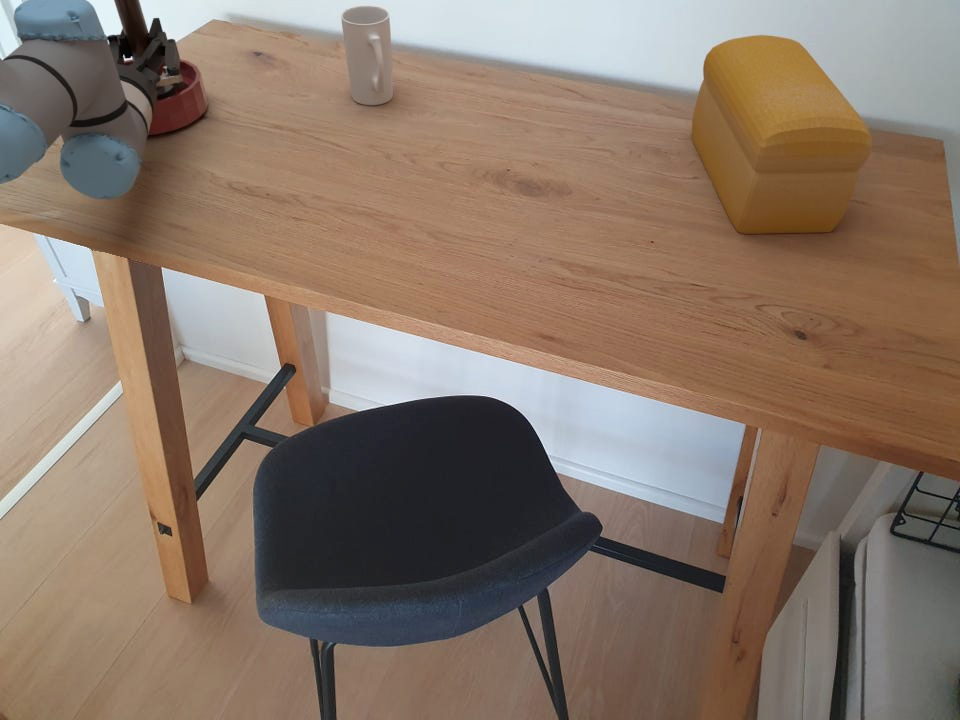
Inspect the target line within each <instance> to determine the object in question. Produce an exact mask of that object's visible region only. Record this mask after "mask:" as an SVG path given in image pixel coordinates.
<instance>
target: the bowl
mask: <svg viewBox="0 0 960 720" xmlns="http://www.w3.org/2000/svg"><path fill="white" fill-rule="evenodd" d="M130 64H133V59H131V58H130V59H127V60H126V59H125V60H124V65H126V66H129V65H130ZM164 66H165V63H163V64H162V66H161V67H160V69H159V70H160V73H161V75H162V72H164V70H163V67H164ZM180 73H181V76H182V80H183V84H184V87H183V88H180V89H178V88H175V91H176V95H173V96H171V97H168V98H165V99H162V100H157V102H156V107H155V111H154V114H153V118H152V121H151V125H150V129H149V133H148V136H153V135H154V136H155V135H158V134H159V135H160V134H164V133H168V132H172V131H175V130H178V129H181V128H184V127H187V126H189V125H190V124H191V123H194V121H196V120H198V119H199V118H201V117H202V116H203V114H204V113H205V112H206V111H207V109H208V105H209V104H208V103H209V99H208V97H207V92H206V88H205V85H204V80H203V77H202V72H201V71H200V69H199V68H198V66H197V65H196V64H194V63H193V62H190V61H189V60H187V59H183V58H180Z"/></svg>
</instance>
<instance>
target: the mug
mask: <svg viewBox="0 0 960 720" xmlns="http://www.w3.org/2000/svg"><path fill="white" fill-rule="evenodd" d="M340 14H341V15H340V19H341V28H342V35H343V42H344V49H345V56H346V63H347V65H346V66H347V72H348V79H349V87H350V94H351V97H352V99H353V101H354V102H355V103H357V104H359V105H364V106H379V105H384V104H387V103H388V102H390V101H391V100H392V99H393V97H394V76H393V75H394V74H393V57H392V56H393V53H392V35H391V33H392V32H391V20H390V12H389V11H388V10H387V9H385V8H383V7H381V6H377V5H375V6H374V5H357V6H353V7H349V8H346V9H345V10H344V11H342V13H340Z"/></svg>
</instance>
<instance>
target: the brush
mask: <svg viewBox="0 0 960 720" xmlns="http://www.w3.org/2000/svg"><path fill="white" fill-rule="evenodd" d="M113 2H114V5H115V8H116V12H117V14H118V17H119V20H120V24H121V27H122V29H123V30H124V33H125V37H126V40H127V43H128V46H129V49H130V52H131V58H132V59H133V62H134V61H135V59H136V58H137V57H140V58H141V56H142V55H143V53H144V52H145V50H146V49H147V47H148V46H149V41H148V34H149V30H148V26H147V22H146V19H145V15H144V13H143V9H142V6H141V2H140V0H113ZM157 74H158V75H159V76H161V73H160V70H159V71H158V72H157ZM173 95H176V91H175V87H174V86H173V85H172V86H169V85H166V86H163V90H162V91H161V92H160V93H159V94H158V95H157V100H162V99H165V98H168V97H171V96H173Z"/></svg>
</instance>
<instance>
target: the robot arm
mask: <svg viewBox="0 0 960 720" xmlns="http://www.w3.org/2000/svg"><path fill="white" fill-rule="evenodd" d="M13 13H14V14H13V21H14V24H15V28H16V33H17V34H16V36H17V38H19V39H20V41H21V44H20V45H19V46H18V47H16V48H15V49H13V50H12V51H11V53H9V54H8V55H7V56H6V57H4V58H3V59H2V58H1V57H0V184H5V183H10V182H13V181H14V180H16V179H18V178H20V177H21V176H22V175H23V174H25V172H26V171H28V169H30V168H31V167H32V166H33V165H34V164H35V163H38V162H40V161H41V160H42V159H43V158H44V157H45V155H46V153H47V151H48V149H49V148H50V147H51V146H52V145H53V144H54V143H55V142H56V141H57V139H59V137H61V139H62V142H63V144H62V146H61V149H60V152H59V153H60V157H59V168H60V172H61V175H62V178H64V180H65V181H66V182H67V183H68V185H69V186H70V187H71V188H72V189H74V190H75V191H76V192H78V193H80V194H81V195H84V196H86V197H89V198H90V199H91V198H92V199H96V200H112V199H118V198H120V197H122V196H124V195H126V194H127V193H128V192H129V191H130V190H131V189H132V187H133V186H134V184H135V181H136V180H137V177H138V176H139V174H140V172H141V170H142V164H143V163H142V161H143V158H144V157H143V156H144V152H145V148H146V144H147V138H148V136H149V135H148V133H149V129H150V125H151V121H152V118H153V114H154V111H155V107H156V102H157V95H158V94H159V93H160V92H161V91H162V90H163V86H166V85H169V86H172V85H173V86H174V87H175V88H178V89H180V88H183V87H184V84H183V80H182V76H181V73H180V59H181V57H180V53H179V50H178V46H177V42H176V39H174V38H168V36H167V33H166V32H165V31H164V30H163V27H162V24H161V20H160V17H153V18H152V22H151V24H150V28H149V30H148V32H149V34H148V41H149V46H148V47H147V49H146V50H145V52H144V53H143V55H142V56H141V58H140V57H137V58H136V59H135V61H134V62H133V64H130V65H129V66H126V65H124V61H125V60H126V59H127V60H128V59H131V58H132V56H131V52H130V49H129V46H128V43H127V40H126V37H125V33H124V30H123V28H121V31H120V33H119V34H109V35H106V33H105V31H104V29H103V26H102V24H101V21H100V19H99V16H98V14H97V11H96V9H95V7H94V6H93V4H92V3H91V2H90V1H88V0H26V1H24V2H22V3H20V4H19V5H18V6H17V7H16V8H15V9H14V12H13ZM163 63H165V66H164V67H163V70H164V72H162V75H161V76H159V75H158V74H157V72H158V71H159V69H160V67H161V66H162V64H163Z"/></svg>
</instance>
